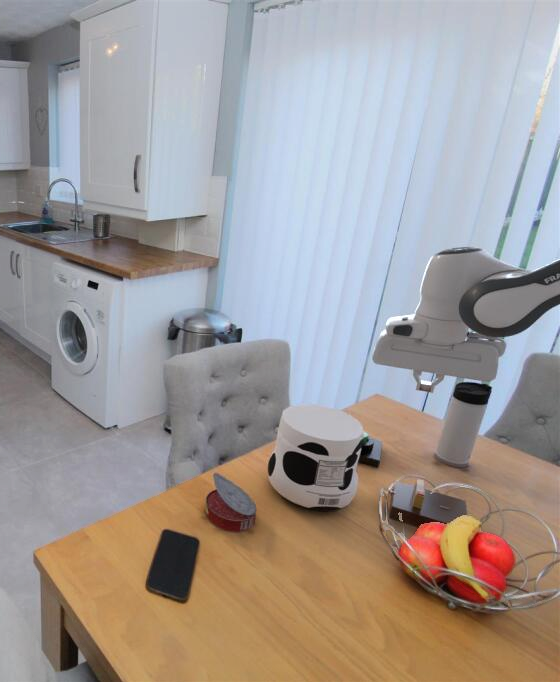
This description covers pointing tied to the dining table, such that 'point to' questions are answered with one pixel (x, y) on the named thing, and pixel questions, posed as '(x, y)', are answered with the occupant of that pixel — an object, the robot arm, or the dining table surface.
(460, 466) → the travel mug
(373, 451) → the alarm box
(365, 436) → the alarm button
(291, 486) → the milk container
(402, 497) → the lock plate
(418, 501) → the lock knob
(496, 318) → the robot arm
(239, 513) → the canned food
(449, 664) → the dining table surface
